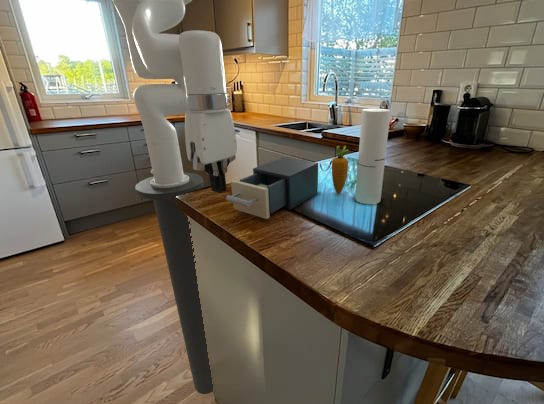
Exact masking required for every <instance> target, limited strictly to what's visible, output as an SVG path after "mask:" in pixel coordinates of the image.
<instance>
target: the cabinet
mask: <svg viewBox="0 0 544 404" xmlns="http://www.w3.org/2000/svg"><path fill="white" fill-rule="evenodd" d="M258 172H259V173H264V174H269V175H273V176H278V177H282V178H287V189H288V204H287V205H285V206H283V207H282V208H283V209H285V210H289V211H291V210H292V209H294V208H296V207H297V206H299V205H300V204H302V203H304V202H305V201H308V200H310V198H312V197H314V196H315V195H318V193H319V192H318V191H319V186H318V185H319V162H315V161H309V160H304V159H297V158H292V157H286V156H283V157H280V158H278V159H275V160H272V161H269V162H266V163H264V164H261V165H259V166H255V167H253V168H252V173H253V174H256V173H258ZM253 174H252V175H253ZM282 208H281V209H282Z"/></svg>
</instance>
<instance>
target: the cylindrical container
mask: <svg viewBox="0 0 544 404" xmlns="http://www.w3.org/2000/svg"><path fill="white" fill-rule="evenodd" d="M391 111H392V109H388V108H375V107H374V108H371V107H370V108H363V109H361V120H360V133H359V136H360V137H359V143H358V144H359V145H358V147H359V148H358V158H357V169H356V170H357V172H356V184H355V185H356V186H355V196H354V198H355V201H356V202H358V203H361V204H362V205H363V204H364V205H376V204H379V203H380V202H381V199H382V190H383V182H384V173H385V165H386V156H387V146H388V137H389V129H390V120H391Z"/></svg>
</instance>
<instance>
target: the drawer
mask: <svg viewBox="0 0 544 404" xmlns="http://www.w3.org/2000/svg"><path fill="white" fill-rule="evenodd" d="M259 184H263V185H267V188H264V187H260V186H257V185H259ZM230 185H231V195H230V194H228V195H226V196H225V200H226V201H227V202H230V203H232V205H233V209H234V210H237V211H240V212H243V213H247V214H248V215H252V216H255V217H259V218H261V219H265V220H268V219H269V218H271V217H270V215H271V214H273V213H275V212H276V211H278V210H280V209H282V207H283V206H285V205H287V204H288V189H287V178H282V177H278V176H273V175H269V174H264V173H259V172H258V173H256V174H251V175H247V176H246V177H244V178H240V179H239V180H236V179H233V180H231V181H230Z"/></svg>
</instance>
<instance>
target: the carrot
mask: <svg viewBox="0 0 544 404" xmlns="http://www.w3.org/2000/svg"><path fill="white" fill-rule="evenodd" d="M335 149H336V154H337V156H336V157H333V158H332V159H331V178H332V184H333V185H332V186H333V188H334V191H335V193H336V194H337V195H340V194H341V193H342V191H343V190H344V187H345V186H346V181H347V177H348V170H349V159H348V158H347V157H345V155H346V154H347V153H348V152H349V151H350V150H349V149H347V146H346V145H343V147H342V150H341V147H340V145H337V146H336V148H335Z"/></svg>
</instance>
